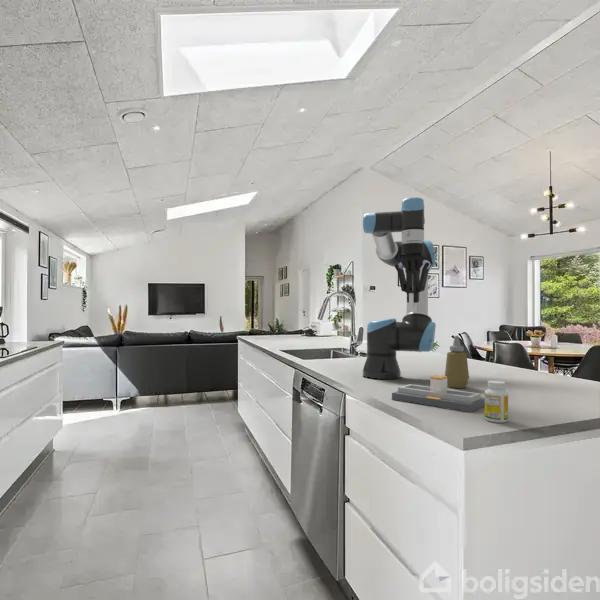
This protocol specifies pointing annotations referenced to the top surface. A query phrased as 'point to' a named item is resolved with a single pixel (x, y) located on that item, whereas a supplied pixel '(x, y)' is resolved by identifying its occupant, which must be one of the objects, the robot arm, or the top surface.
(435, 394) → the console board
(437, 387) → the fader tab
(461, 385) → the squeeze bottle
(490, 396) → the supplement bottle
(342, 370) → the top surface
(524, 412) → the top surface
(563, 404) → the top surface
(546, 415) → the top surface
